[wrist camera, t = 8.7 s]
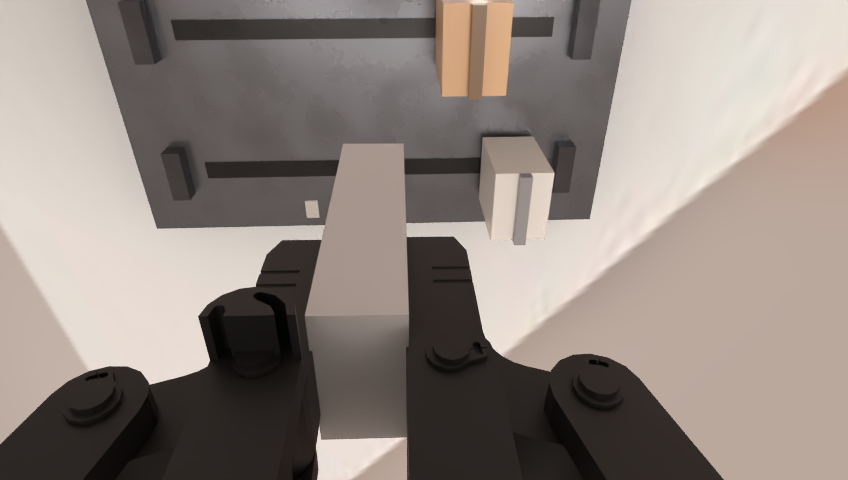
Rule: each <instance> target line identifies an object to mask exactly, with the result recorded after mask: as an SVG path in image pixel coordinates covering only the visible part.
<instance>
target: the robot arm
mask: <svg viewBox="0 0 848 480" xmlns="http://www.w3.org/2000/svg"><path fill="white" fill-rule="evenodd" d="M198 317H199V321H200V325H201V328H202V332H203V336H204V339H205V343H206V347H207V350H208V354H209V358H210V362H209V365H208V367H206V368H204V369H202V370H200V371H198V372H195V373H192V374H189V375H186V376H182V377H179V378H175V379H171V380H167V381H163V382H159V383H155V384H151V385H149V383H148V381H147V379H146V378H145V377H144V375H143V374H142V373H141V372H140V371H137V370H135V369H132V368H129V367H112V366H109V367H105V368H101V369H97V370H93V371H89V372H87V373H84V374H82V375H80V376H78V377H76V378H74V379H72V380H70V381H68V382H67V383H65V384H64V385H63V386H62V387H60V388H59V389H58V390H57V391H55V392H54V393H52V394H51V395H50V396H49V397H48V398H47V399H46V400H45V401H44V402H43V403H42V404H41V405H40V406H39V407H38V408H37V409H36V410H35V411H34V412H33V413H32V414H31V415H30V416H29V417H28V418H27V419H26V420H25V421H24V422H23V423H22V424H21V425H20V426H19V427H18V428H17V429H16V430H15V431H14V432H13V433H12V434H10V436H9V437H7V438H6V439H5V440H4V441H3V442H2V443H1V444H0V480H317V476H318V461H317V453H316V443H317V436H318V429H319V425H320V433H321V440H325V439H360V438H396V437H407V480H724V479H723V478H722V477H721V476H720V475H719V474H718V472H717V471H716V470H715V469H714V468H713V466H712V465H711V464H710V463H709V462H708V460H707V459H706V458H705V457H704V456H703V454H702V453H701V452H700V451H699V450H698V448H697V447H696V446H695V445H694V444H693V442H692V441H691V440H690V439H689V438H688V436H687V435H686V434H685V433H684V432H683V431H682V429H681V428H680V427H679V426H678V424H677V423H676V422H675V421H674V420H673V418H672V417H671V416H670V415H669V414H668V412H667V411H666V410H665V409H664V408H663V406H662V405H661V404H660V403H659V402H658V400H657V399H656V398H655V397H654V396H653V395H652V393H651V392H650V391H649V390H648V389H647V387H646V386H645V385H644V384H643V383H642V381H641V380H640V379H639V378H638V377H637V376H636V375H635V374H633V373H632V372H631V371H630V370H629V369H628V368H627V367H626V366H624V365H622V364H620V363H618V362H616V361H614V360H611V359H610V358H607V357H602V356H598V355H593V354H581V355H580V354H579V355H572V356H569V357H567V358H565V359H562V360H560V361H559V362H558V363H557V364H556V365H555V367H554V368H553V369H552V370H551V372H549V371H544V370H540V369H536V368H532V367H527V366H524V365H521V364H518V363H514V362H512V361H510V360H508V359H506V358H505V357H503V356H501V355H500V354H499V353H497V352H496V351H495V350H494V349H493V348H492V346H491V344H490V342H489V341H488V340H487V339H485V336H484V333H483V330H482V325H481V320H480V315H479V310H478V305H477V300H476V295H475V290H474V285H473V283H472V276H471V271H470V266H469V261H468V256H467V251H466V249H465V248H464V247H463V246H462V245H461V244H460V243H459V242H458V241H457V240H456V239H455V238H454V237H406V205H405V172H404V144H343V147H342V151H341V156H340V160H339V165H338V169H337V174H336V178H335V183H334V187H333V192H332V196H331V201H330V205H329V210H328V214H327V218H326V223H325V227H324V232H323V236H322V240H282V241H281V242H280V243H279V244H278V245H277V246H276V247H275V248H274V249H272V250H271V251H270V252H269V253H268V254H267V256H266V258H265V261H264V264H263V267H262V269H261V274H260V275H259V277H258V280H257V283H256V287H251V288H243V289H238V290H235V291H232V292H230V293H227V294H224V295H222V296H220V297H219V298H217V299H216V300H214V301H213V302H211V303H210V304H208V305H207V306H206V307H205V309H204V310H203V311H202V312H201V314H200V315H199V316H198Z"/></svg>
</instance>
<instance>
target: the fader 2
mask: <svg viewBox="0 0 848 480" xmlns="http://www.w3.org/2000/svg"><path fill="white" fill-rule="evenodd" d="M553 180H554V171H553V169H552V168H551V166H550V164H549V162H548V161H547V159H546V157H545V156H544V154H543V152H542V150H541V149H540V147H539V145H538V144H537V142H536V140H535V138H534V137H533V136H531V137H483V138H482V154H481V171H480V187H479V200H480V204H481V208H482V211H483V215H484V218H485V222H486V226H487V229H488V233H489V236H490V240H491V241H496V240H513V243H514V245H525V243H526V240H539V239H545V236H546V229H547V222H548V215H549V208H550V201H551V194H552V187H553Z"/></svg>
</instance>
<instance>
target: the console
mask: <svg viewBox="0 0 848 480" xmlns="http://www.w3.org/2000/svg"><path fill="white" fill-rule="evenodd" d="M511 1H512V2H513V3H514V6H513V18H512V30H511V42H510V54H509V66H508V78H507V90H506V96H482V99H481V100H469V99H468V96H454V97H442V95H441V91H440V86H439V82H438V78H437V73H436V69H435V54H436V0H86V2H87V5H88V8H89V12H90V15H91V18H92V21H93V24H94V28H95V31H96V34H97V37H98V40H99V44H100V47H101V50H102V53H103V56H104V60H105V63H106V66H107V69H108V73H109V76H110V79H111V82H112V85H113V89H114V92H115V95H116V98H117V101H118V105H119V108H120V111H121V114H122V117H123V121H124V124H125V127H126V130H127V133H128V137H129V140H130V143H131V146H132V150H133V153H134V156H135V159H136V162H137V166H138V169H139V172H140V175H141V178H142V182H143V185H144V188H145V191H146V194H147V198H148V201H149V204H150V207H151V210H152V214H153V217H154V220H155V223H156V227H157V229H158V228H204V227H249V226H294V225H325V223H326V218H327V214H328V210H329V205H330V201H331V196H332V192H333V187H334V183H335V178H336V174H337V169H338V165H339V160H340V156H341V151H342V147H343V144H404V172H405V205H406V223H430V222H475V221H485V218H484V215H483V211H482V208H481V204H480V200H479V187H480V171H481V154H482V138H483V137H531V136H533V137H534V138H535V140H536V142H537V144H538V145H539V147H540V149H541V150H542V152H543V154H544V156H545V157H546V159H547V161H548V162H549V164H550V166H551V168H552V169H553V171H554V180H553V187H552V194H551V201H550V208H549V215H548V220H566V219H590V214H591V209H592V203H593V198H594V193H595V188H596V182H597V177H598V172H599V167H600V161H601V156H602V151H603V146H604V140H605V135H606V130H607V125H608V119H609V114H610V109H611V104H612V98H613V93H614V88H615V83H616V77H617V72H618V67H619V62H620V57H621V51H622V46H623V41H624V36H625V30H626V25H627V20H628V15H629V9H630V4H631V0H511Z"/></svg>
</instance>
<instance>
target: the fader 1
mask: <svg viewBox="0 0 848 480" xmlns="http://www.w3.org/2000/svg"><path fill="white" fill-rule="evenodd" d="M513 6H514V3H513V2H512V1H511V0H436V54H435V69H436V73H437V78H438V82H439V86H440V91H441V95H442V97H454V96H468V99H469V100H481V99H482V96H506V90H507V78H508V66H509V54H510V42H511V30H512V18H513Z"/></svg>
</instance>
